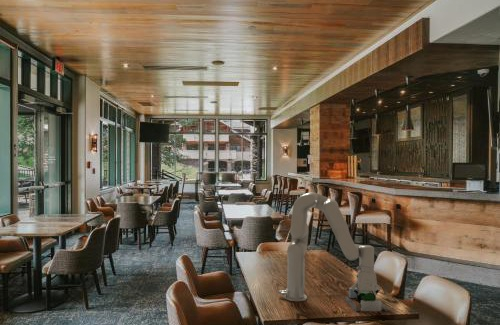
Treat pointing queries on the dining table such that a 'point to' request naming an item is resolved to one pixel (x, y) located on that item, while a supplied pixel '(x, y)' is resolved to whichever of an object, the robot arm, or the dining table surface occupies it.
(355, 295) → the block
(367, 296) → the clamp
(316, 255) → the dining table surface
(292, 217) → the robot arm
